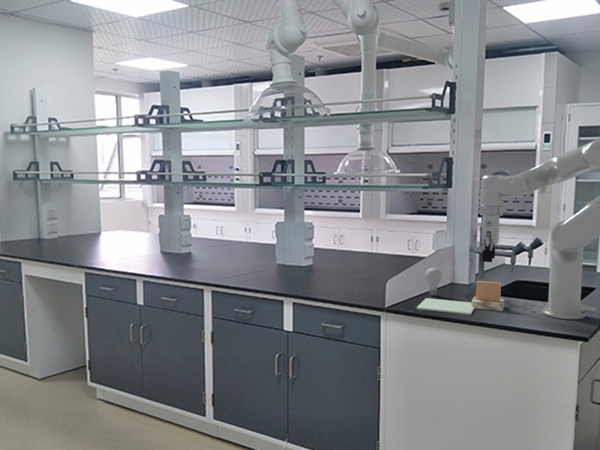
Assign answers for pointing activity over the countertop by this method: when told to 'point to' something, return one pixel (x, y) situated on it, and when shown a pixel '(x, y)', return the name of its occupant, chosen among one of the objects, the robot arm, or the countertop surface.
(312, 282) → the countertop surface
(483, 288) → the tile
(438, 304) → the mat
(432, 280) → the lightbulb
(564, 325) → the countertop surface
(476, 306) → the stand
